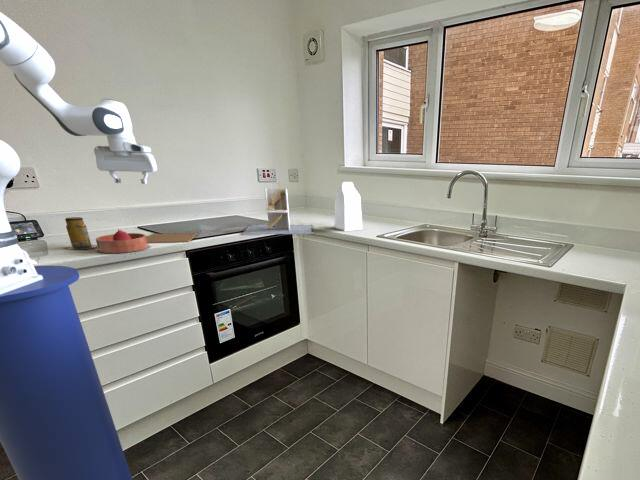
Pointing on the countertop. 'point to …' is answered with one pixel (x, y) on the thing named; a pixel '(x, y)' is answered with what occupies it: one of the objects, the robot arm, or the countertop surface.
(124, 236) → the onion
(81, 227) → the condiment
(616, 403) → the countertop surface
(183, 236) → the mat
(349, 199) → the milk
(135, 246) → the bowl
